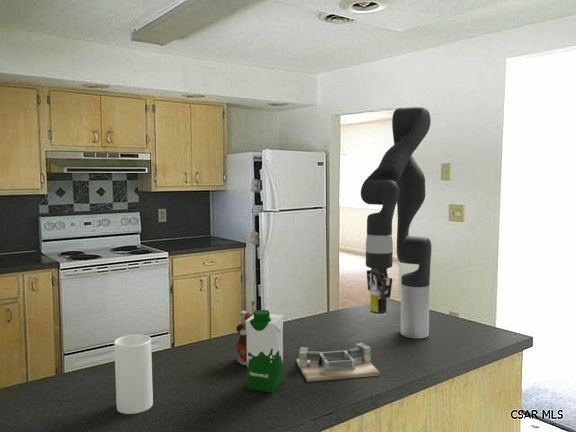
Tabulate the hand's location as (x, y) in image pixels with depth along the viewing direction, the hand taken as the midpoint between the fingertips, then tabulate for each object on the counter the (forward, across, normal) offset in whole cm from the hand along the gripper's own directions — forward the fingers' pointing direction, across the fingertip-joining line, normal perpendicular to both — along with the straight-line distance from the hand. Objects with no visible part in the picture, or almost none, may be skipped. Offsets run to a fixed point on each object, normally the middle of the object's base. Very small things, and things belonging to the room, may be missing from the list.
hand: (378, 309), depth 144 cm
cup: (+16, -13, +66) cm, 69 cm away
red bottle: (+16, +8, +35) cm, 39 cm away
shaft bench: (+16, -2, +13) cm, 21 cm away
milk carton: (+16, -8, +34) cm, 39 cm away
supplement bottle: (+2, 0, 0) cm, 2 cm away
